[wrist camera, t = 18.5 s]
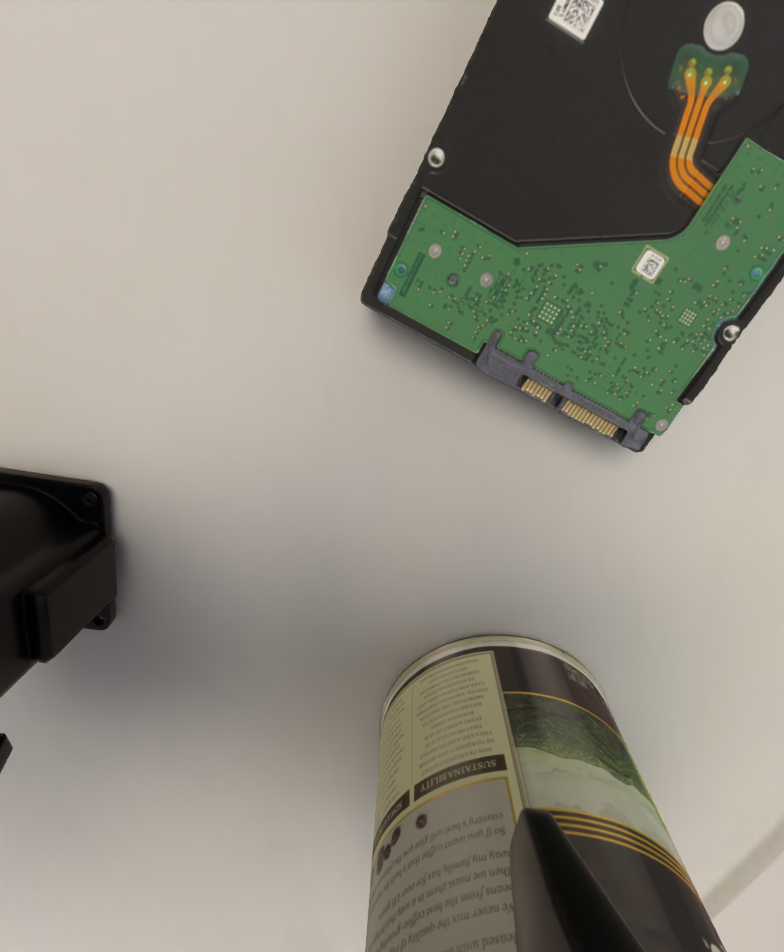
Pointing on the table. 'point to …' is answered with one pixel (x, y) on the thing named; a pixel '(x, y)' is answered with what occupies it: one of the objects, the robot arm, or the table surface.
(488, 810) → the coffee can
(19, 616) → the robot arm
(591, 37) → the disk drive
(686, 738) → the table surface
